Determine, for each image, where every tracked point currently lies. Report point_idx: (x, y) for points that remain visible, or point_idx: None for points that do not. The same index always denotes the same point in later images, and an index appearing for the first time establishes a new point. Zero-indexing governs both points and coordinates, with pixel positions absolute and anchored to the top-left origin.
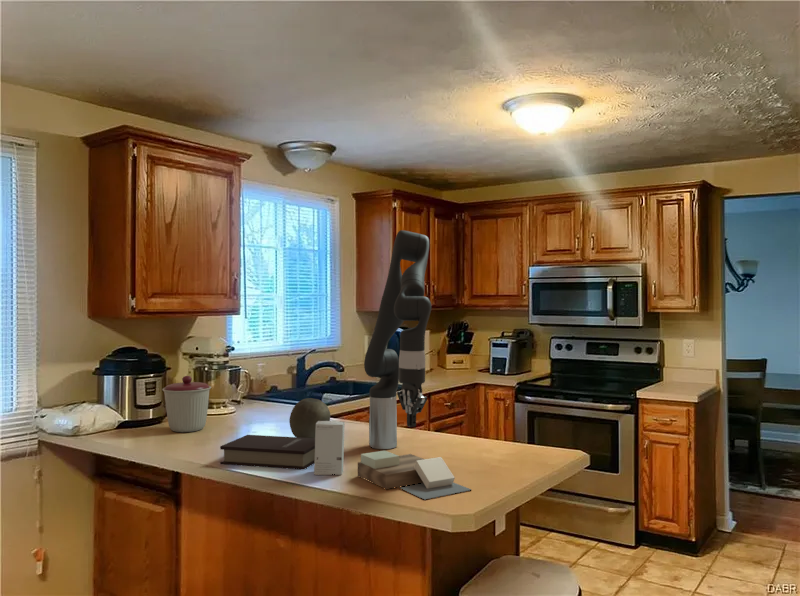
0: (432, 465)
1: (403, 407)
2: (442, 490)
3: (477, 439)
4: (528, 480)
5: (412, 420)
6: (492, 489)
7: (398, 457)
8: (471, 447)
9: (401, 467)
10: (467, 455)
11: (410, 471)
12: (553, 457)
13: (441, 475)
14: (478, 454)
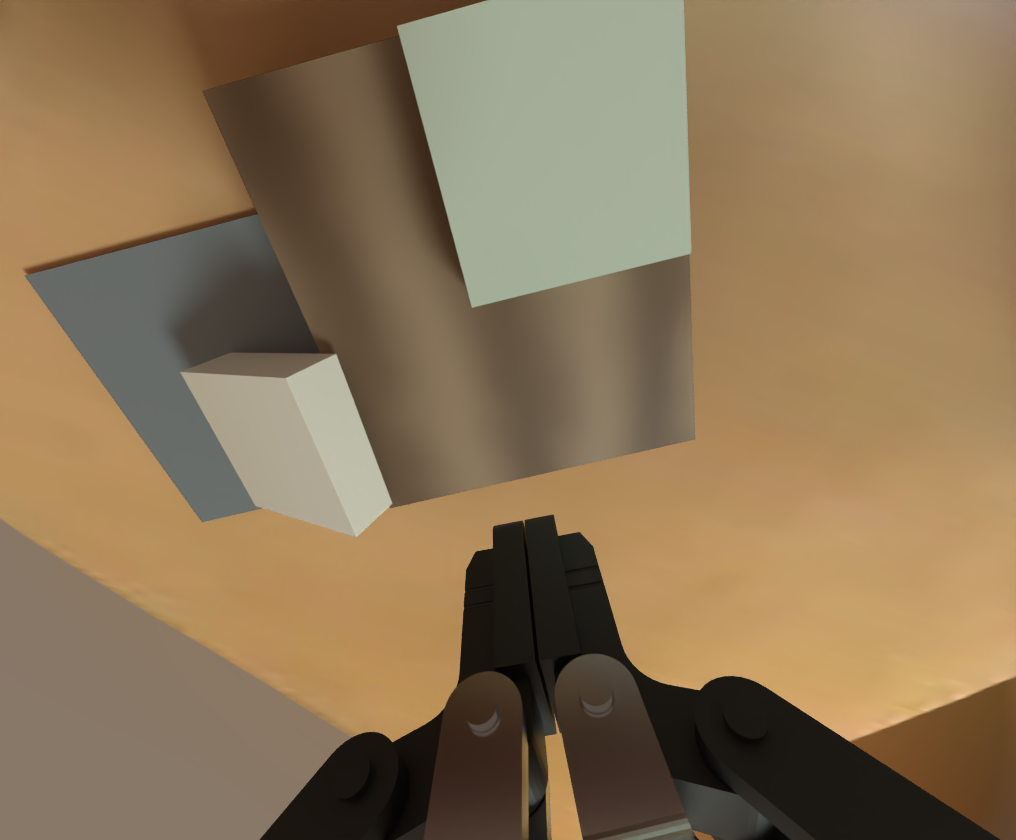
0: (285, 453)
1: (735, 734)
2: (192, 411)
3: (878, 722)
4: (319, 697)
5: (467, 611)
6: (219, 584)
7: (469, 297)
8: (798, 683)
9: (398, 284)
10: (707, 645)
11: (305, 314)
12: (550, 801)
13: (241, 457)
14: (697, 675)
